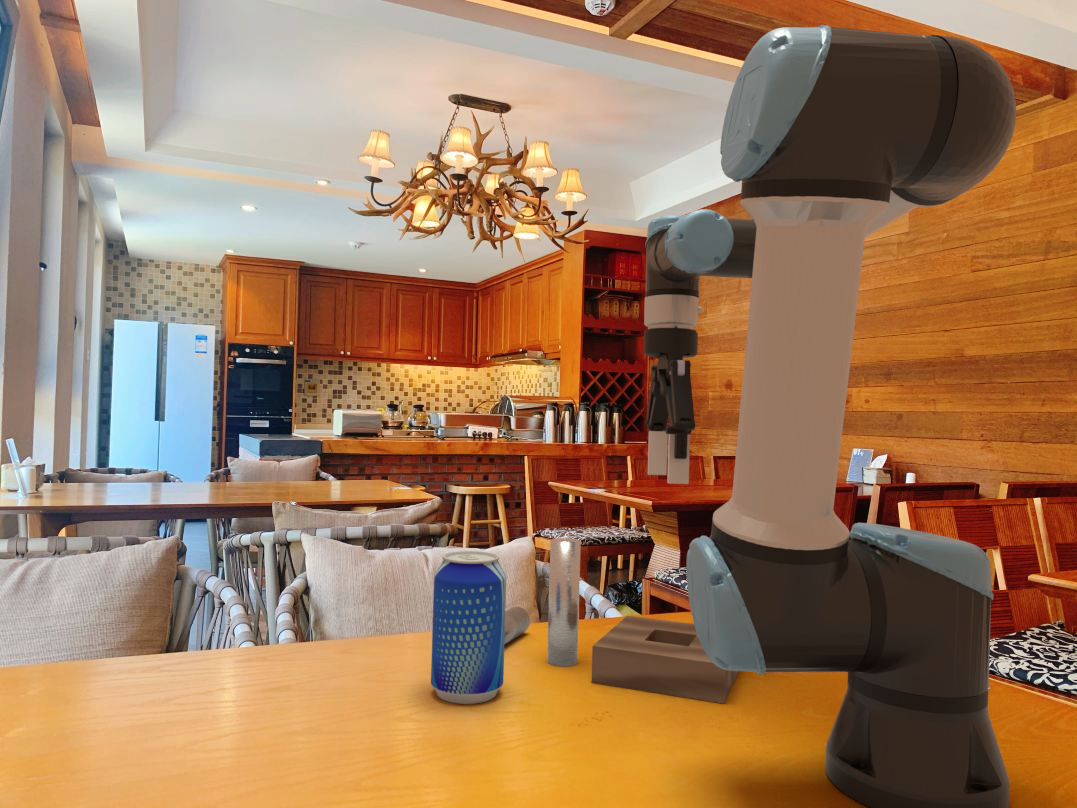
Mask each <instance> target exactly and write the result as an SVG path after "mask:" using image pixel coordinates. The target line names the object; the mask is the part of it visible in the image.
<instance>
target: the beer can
mask: <svg viewBox="0 0 1077 808" xmlns="http://www.w3.org/2000/svg"><path fill="white" fill-rule="evenodd" d="M499 559H500V556H499V555H498V554H497V553H493V552H489V551H482V550H478V551H477V550H459V551H450V552H447V553H444V554H443V555H442V561H441V563H440V564H439V566H438V567H437V570H436V571H435V573H434V576H433V594H432V595H433V599H432V602H433V603H432V628H431V629H432V630H431V631H432V632H431V633H432V635H431V660H430V661H431V664H430V665H431V667H430V670H431V672H430V685H431V687H432V688H433V689H434V690H435V692H436V694H437V697H438V698H439V699H441V700H442V701H445V702H448V703H452V704H458V705H459V704H460V705H461V704H462V705H473V704H479V703H485V702H488V701H490V700H492V699H494V698H495V697H496V696H497V694H498V691H499V690H500V689H501V688H502V686H503V685H504V672H505V671H504V670H505V669H504V668H505V666H504V665H505V645H504V641H505V611H506V606H507V603H506V600H507V598H506V597H507V574H506V572H505V570H504V568H503V567H502V565H501V563H500V561H499Z"/></svg>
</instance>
